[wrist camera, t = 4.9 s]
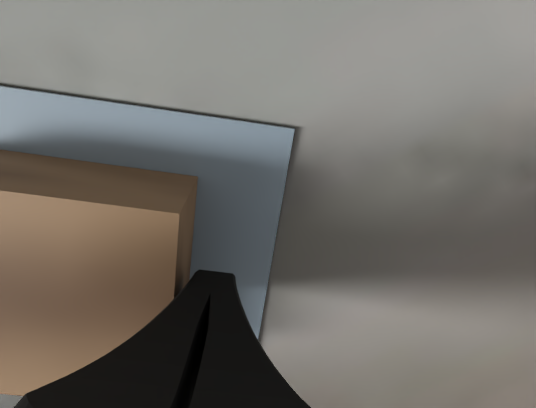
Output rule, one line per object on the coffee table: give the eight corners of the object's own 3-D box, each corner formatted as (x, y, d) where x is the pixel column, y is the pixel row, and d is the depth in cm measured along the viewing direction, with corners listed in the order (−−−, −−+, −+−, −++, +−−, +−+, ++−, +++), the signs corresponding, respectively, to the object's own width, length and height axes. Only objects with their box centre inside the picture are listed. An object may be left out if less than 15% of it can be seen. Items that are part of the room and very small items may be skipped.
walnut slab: (183, 342, 15) (166, 409, 12) (1, 323, 15) (-61, 387, 12) (197, 176, 13) (179, 213, 10) (-25, 146, 12) (-111, 175, 9)
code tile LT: (249, 384, 16) (249, 387, 16) (-20, 357, 16) (-23, 360, 15) (294, 128, 12) (294, 129, 12) (-70, 75, 11) (-74, 75, 11)
